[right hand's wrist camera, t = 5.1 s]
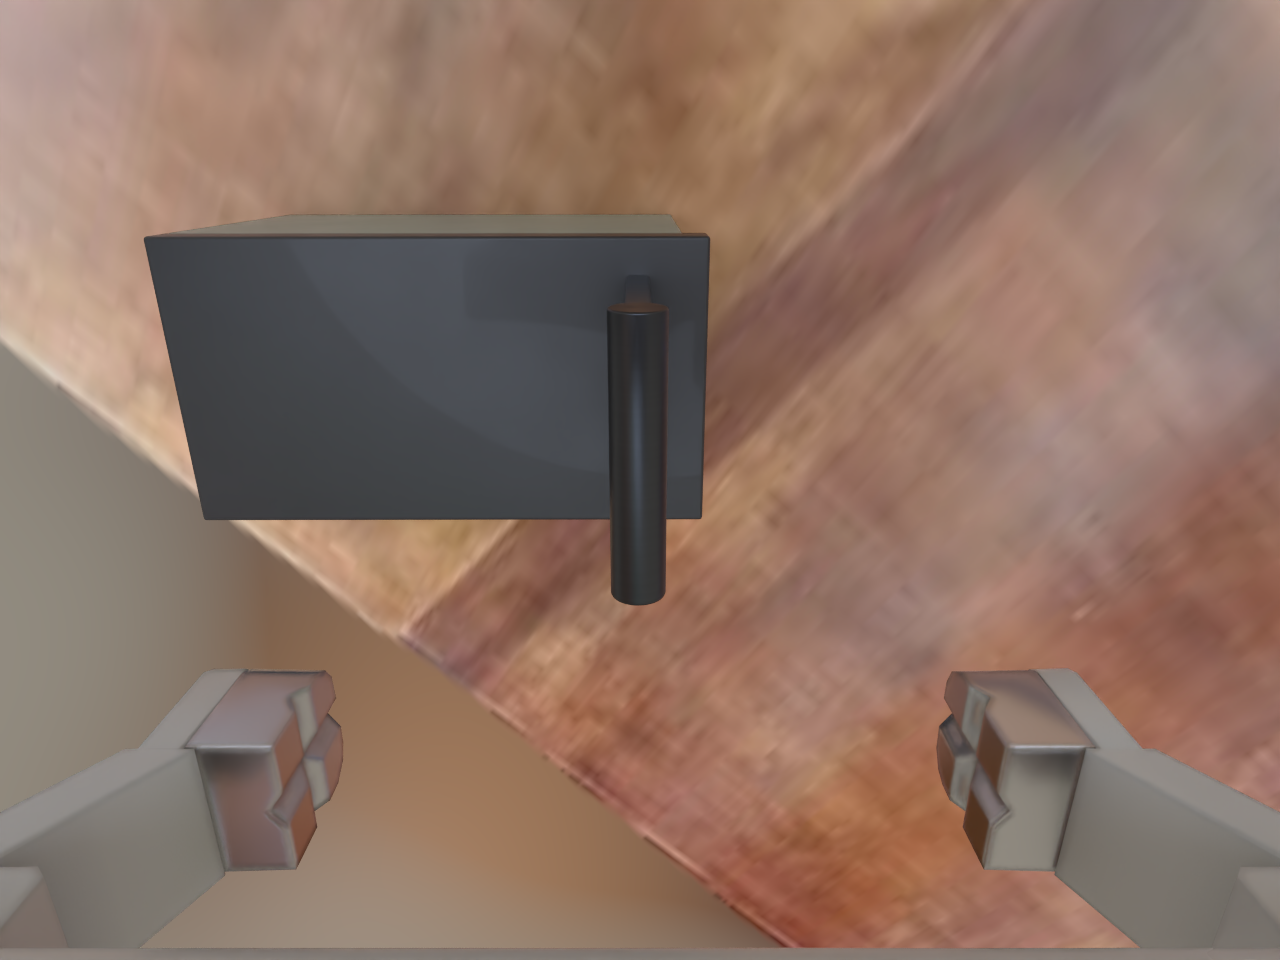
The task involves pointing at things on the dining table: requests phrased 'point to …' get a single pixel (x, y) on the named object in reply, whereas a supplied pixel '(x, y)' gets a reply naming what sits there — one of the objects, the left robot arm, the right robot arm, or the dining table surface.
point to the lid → (445, 378)
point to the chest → (448, 224)
